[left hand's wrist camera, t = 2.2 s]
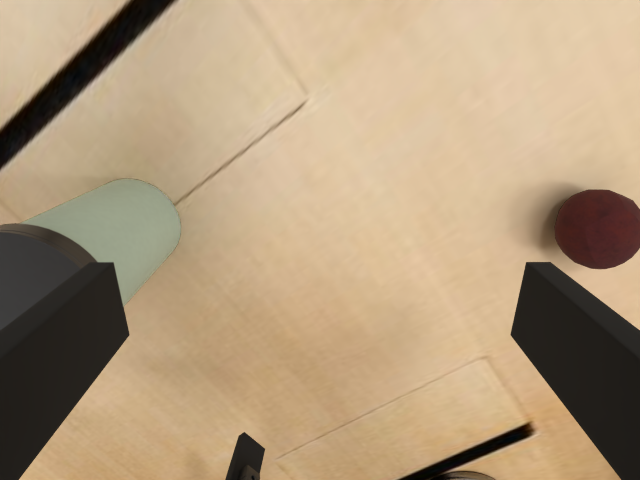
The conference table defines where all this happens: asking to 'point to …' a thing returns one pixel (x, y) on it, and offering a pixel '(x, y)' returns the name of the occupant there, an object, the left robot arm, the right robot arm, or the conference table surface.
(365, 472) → the conference table surface
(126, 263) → the jar
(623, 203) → the dark red ball
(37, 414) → the left robot arm
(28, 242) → the lid
